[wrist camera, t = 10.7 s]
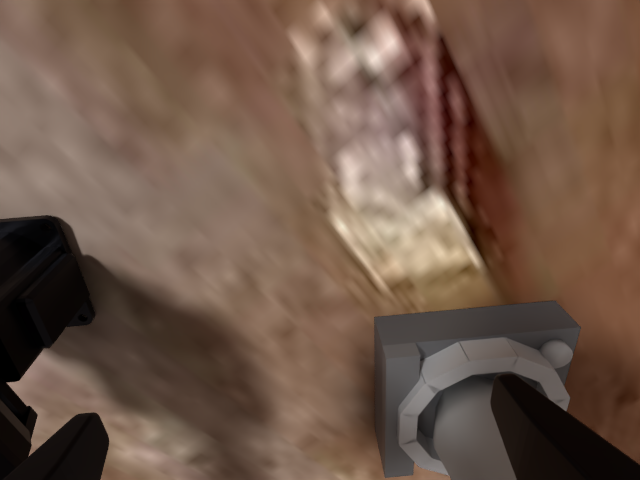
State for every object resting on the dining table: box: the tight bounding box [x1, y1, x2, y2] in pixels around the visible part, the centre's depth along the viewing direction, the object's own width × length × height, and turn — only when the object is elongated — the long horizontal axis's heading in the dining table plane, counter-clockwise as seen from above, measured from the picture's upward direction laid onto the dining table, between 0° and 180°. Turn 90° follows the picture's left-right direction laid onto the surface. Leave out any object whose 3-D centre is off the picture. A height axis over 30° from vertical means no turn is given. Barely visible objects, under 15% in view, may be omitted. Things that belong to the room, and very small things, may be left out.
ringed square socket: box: [374, 301, 581, 478], centre depth 25 cm, size 11×10×4 cm
